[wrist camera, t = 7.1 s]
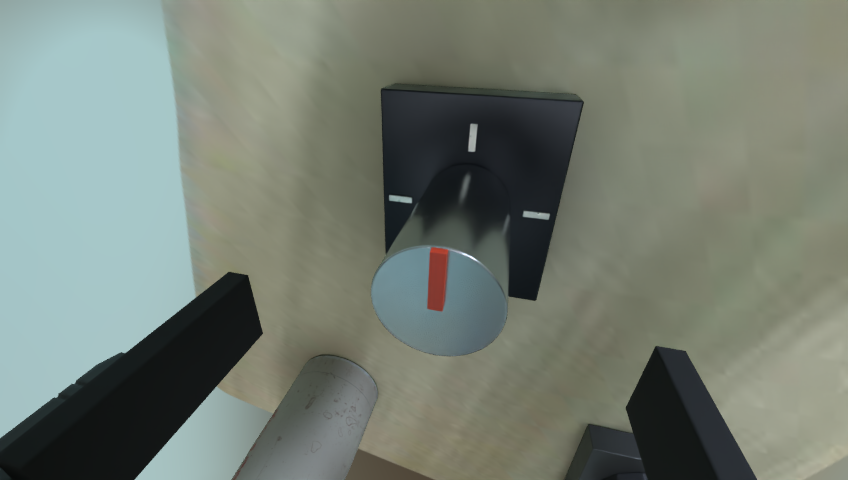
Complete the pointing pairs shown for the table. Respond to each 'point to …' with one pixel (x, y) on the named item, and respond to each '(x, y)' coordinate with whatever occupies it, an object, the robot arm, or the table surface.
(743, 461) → the robot arm
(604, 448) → the black button base
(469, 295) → the timer knob
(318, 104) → the table surface
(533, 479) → the table surface
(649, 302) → the table surface
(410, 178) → the timer panel
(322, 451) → the thermos bottle
